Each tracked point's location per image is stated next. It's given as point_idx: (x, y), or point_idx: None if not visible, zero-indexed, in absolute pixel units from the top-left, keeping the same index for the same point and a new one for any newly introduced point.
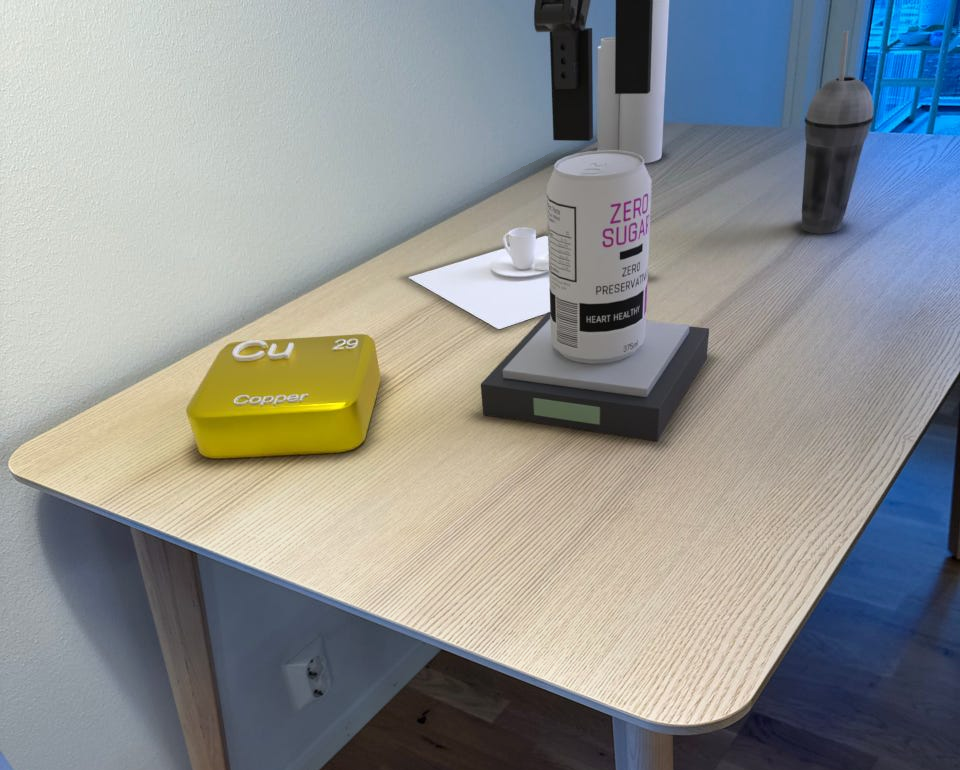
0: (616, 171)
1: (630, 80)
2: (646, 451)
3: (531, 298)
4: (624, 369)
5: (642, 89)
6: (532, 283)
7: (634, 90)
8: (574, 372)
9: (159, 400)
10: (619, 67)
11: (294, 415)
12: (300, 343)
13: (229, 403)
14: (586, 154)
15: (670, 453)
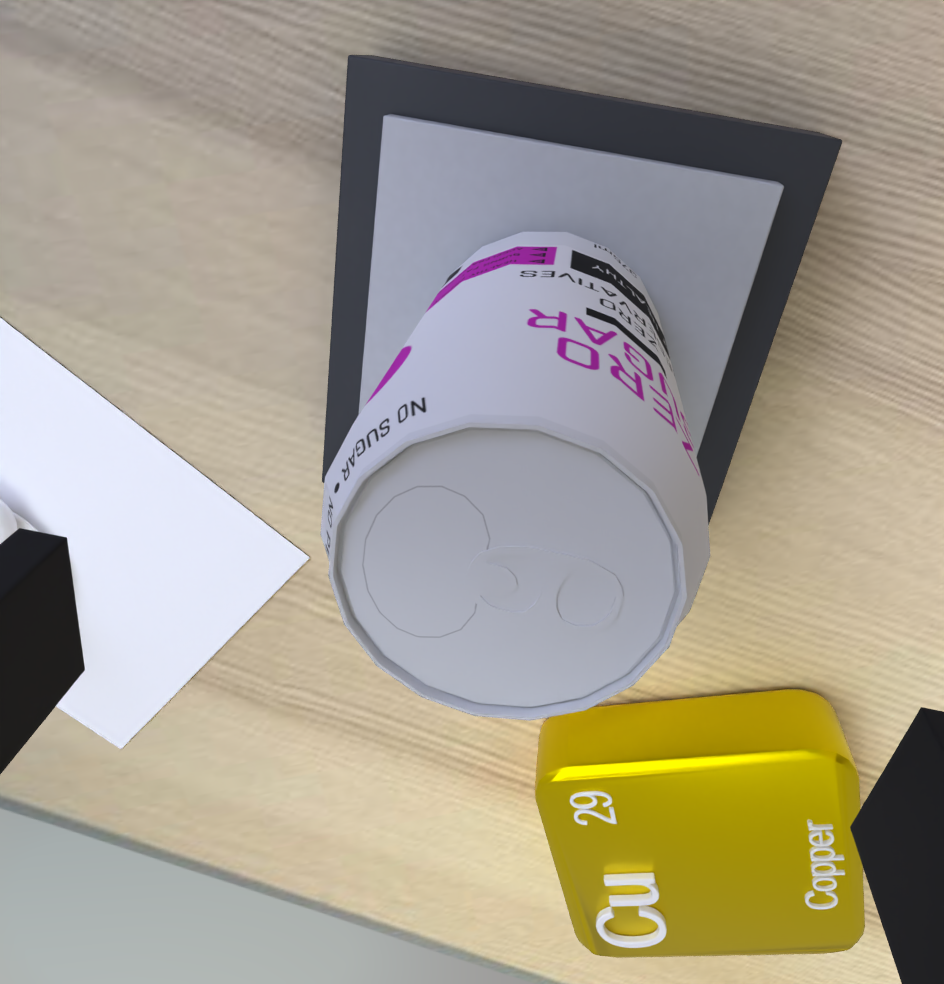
0: (595, 512)
1: (41, 648)
2: (863, 152)
3: (145, 521)
4: (671, 260)
5: (60, 570)
6: (69, 531)
7: (67, 602)
8: (688, 377)
9: (646, 959)
10: (14, 737)
11: None
12: (588, 868)
13: (827, 910)
14: (360, 632)
15: (877, 90)
